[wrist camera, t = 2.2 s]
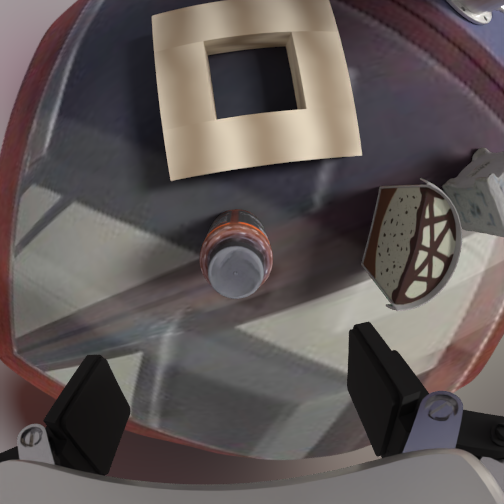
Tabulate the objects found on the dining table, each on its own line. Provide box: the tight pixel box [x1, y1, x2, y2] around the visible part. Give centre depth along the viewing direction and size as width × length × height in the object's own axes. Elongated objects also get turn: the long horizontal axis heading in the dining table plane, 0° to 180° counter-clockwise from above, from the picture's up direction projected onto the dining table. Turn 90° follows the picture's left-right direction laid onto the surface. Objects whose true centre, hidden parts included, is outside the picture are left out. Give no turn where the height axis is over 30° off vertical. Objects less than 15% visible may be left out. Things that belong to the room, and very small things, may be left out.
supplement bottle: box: [200, 209, 273, 299], centre depth 26 cm, size 6×6×11 cm
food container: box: [361, 178, 462, 311], centre depth 27 cm, size 12×6×10 cm, turn 170°
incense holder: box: [442, 148, 504, 237], centre depth 25 cm, size 10×8×10 cm
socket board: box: [152, 0, 362, 181], centre depth 25 cm, size 18×18×4 cm
